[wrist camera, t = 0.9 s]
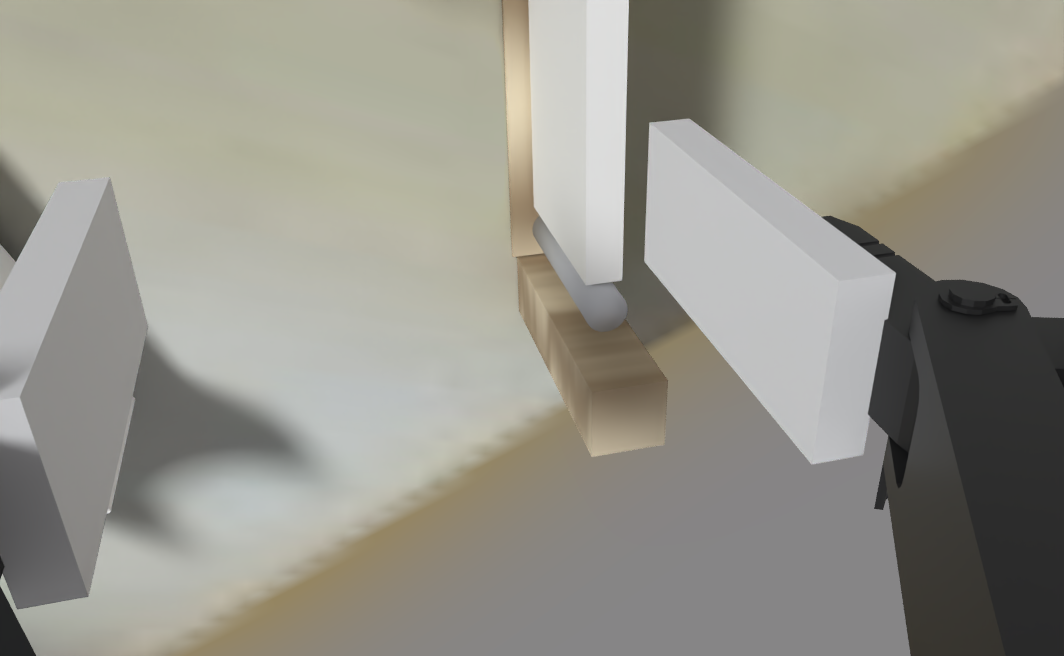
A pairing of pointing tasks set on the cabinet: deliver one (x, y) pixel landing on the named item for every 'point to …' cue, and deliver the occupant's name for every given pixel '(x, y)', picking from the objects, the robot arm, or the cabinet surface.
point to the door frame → (548, 309)
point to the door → (581, 147)
